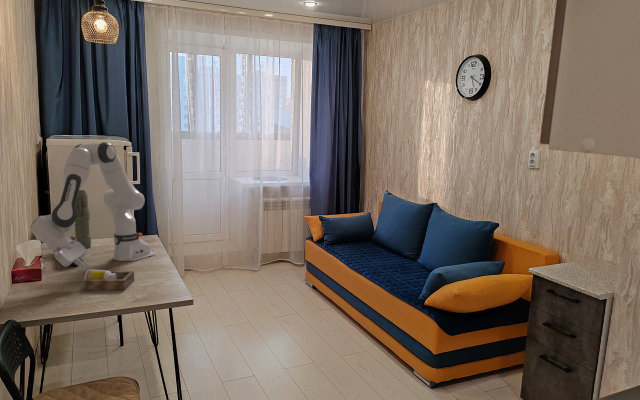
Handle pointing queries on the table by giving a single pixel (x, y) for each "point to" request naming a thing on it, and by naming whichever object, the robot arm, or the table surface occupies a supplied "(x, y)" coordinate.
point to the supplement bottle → (100, 275)
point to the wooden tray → (112, 282)
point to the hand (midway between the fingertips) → (85, 265)
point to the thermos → (82, 220)
